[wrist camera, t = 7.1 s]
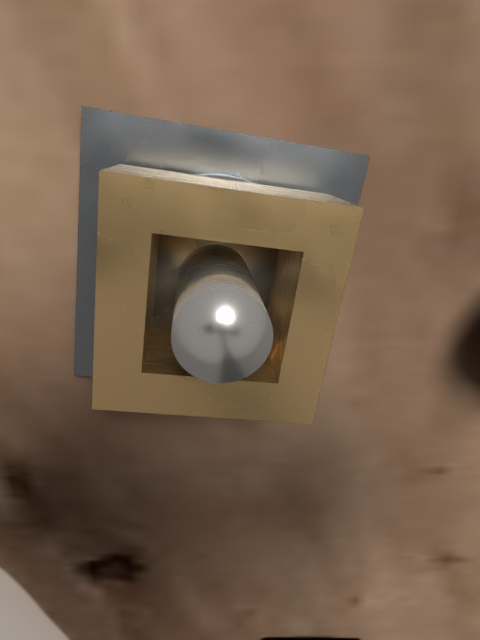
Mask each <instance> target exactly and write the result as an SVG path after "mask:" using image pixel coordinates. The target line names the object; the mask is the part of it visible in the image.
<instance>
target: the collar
mask: <svg viewBox="0 0 480 640" xmlns="http://www.w3.org/2000/svg"><path fill="white" fill-rule="evenodd" d="M363 209H364V208H363V207H360V206H357V205H355V204H352V203H350V202H347V201H345V200H342V199H340V198H337V197H334V196H332V195H329V194H324V193H317V192H310V191H304V190H297V189H290V188H283V187H276V186H269V185H262V184H255V183H248V182H241V181H234V180H227V179H220V178H213V177H207V176H200V175H193V174H186V173H179V172H172V171H165V170H158V169H151V168H144V167H137V166H130V165H123V164H119V165H116V166H112V167H109V168H106V169H102V170H99V190H98V223H97V256H96V289H95V323H94V356H93V389H92V409H96V410H111V411H125V412H140V413H154V414H169V415H183V416H198V417H212V418H227V419H241V420H256V421H270V422H285V423H299V424H312V423H313V419H314V415H315V411H316V407H317V402H318V398H319V394H320V390H321V386H322V381H323V377H324V373H325V369H326V365H327V360H328V356H329V352H330V348H331V344H332V339H333V335H334V331H335V327H336V323H337V318H338V314H339V310H340V306H341V302H342V297H343V293H344V289H345V285H346V280H347V276H348V272H349V268H350V264H351V259H352V255H353V251H354V247H355V243H356V238H357V234H358V230H359V226H360V222H361V217H362V213H363ZM159 234H163V235H171V236H179V237H187V238H195V239H203V240H211V241H219V242H227V243H235V244H243V245H251V246H259V247H267V248H275V249H278V252H277V258H276V264H275V269H274V275H273V281H272V286H271V292H270V298H269V303H268V309H267V313H268V315H269V318H270V320H271V323H272V327H273V343H272V347H271V350H270V353H269V355H268V357H267V358H266V360H265V362H264V363H263V364H262V365H261V366H260V367H259V368H258V369H257V370H256V371H255V372H254V373H252V374H251V375H249V376H247V377H245V378H243V379H241V380H238V381H235V382H230V383H212V382H207V381H203V380H201V379H198V378H196V377H194V376H193V375H191V374H190V373H188V372H187V371H186V370H185V369H184V368H183V367H182V366H181V365H180V363H179V362H178V360H177V359H176V357H175V355H174V352H173V349H172V345H171V330H172V329H161V328H152V318H153V305H154V293H155V280H156V268H157V255H158V243H159Z"/></svg>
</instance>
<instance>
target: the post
mask: <svg viewBox="0 0 480 640" xmlns="http://www.w3.org/2000/svg"><path fill="white" fill-rule="evenodd" d="M369 158H370V156H367V155H362V154H356V153H350V152H344V151H338V150H333V149H327V148H321V147H315V146H310V145H304V144H298V143H292V142H286V141H281V140H275V139H269V138H263V137H257V136H252V135H246V134H240V133H234V132H229V131H223V130H217V129H211V128H205V127H200V126H194V125H188V124H182V123H176V122H171V121H165V120H159V119H153V118H148V117H142V116H136V115H130V114H124V113H119V112H113V111H107V110H101V109H95V108H90V107H84V106H82V116H81V152H80V188H79V224H78V260H77V296H76V332H75V368H74V375H75V376H86V377H93V356H94V323H95V289H96V256H97V223H98V190H99V170H102V169H106V168H109V167H112V166H116V165H119V164H123V165H130V166H137V167H144V168H151V169H158V170H165V171H172V172H179V173H186V174H193V175H200V176H207V177H213V178H220V179H227V180H234V181H241V182H248V183H255V184H262V185H269V186H276V187H283V188H290V189H297V190H304V191H310V192H317V193H324V194H329V195H332V196H334V197H337V198H340V199H342V200H345V201H347V202H350V203H352V204H355V205H357V206H358V203H359V199H360V195H361V191H362V187H363V183H364V179H365V175H366V171H367V167H368V163H369ZM277 252H278V249H275V248H267V247H259V246H251V245H243V244H235V243H227V242H219V241H211V240H203V239H195V238H187V237H179V236H171V235H163V234H159V243H158V255H157V268H156V280H155V293H154V305H153V318H152V328H161V329H172V330H171V345H172V349H173V352H174V355H175V357H176V359H177V360H178V362H179V363H180V365H181V366H182V367H183V368H184V369H185V370H186V371H187V372H188V373H190V374H191V375H193V376H194V377H196V378H198V379H201V380H203V381H207V382H212V383H230V382H235V381H238V380H241V379H243V378H245V377H247V376H249V375H251V374H252V373H254V372H255V371H256V370H257V369H258V368H259V367H260V366H261V365H262V364H263V363H264V362H265V360H266V358H267V357H268V355H269V353H270V350H271V347H272V343H273V327H272V323H271V320H270V318H269V315H268V313H267V309H268V303H269V298H270V292H271V286H272V281H273V275H274V269H275V264H276V258H277Z"/></svg>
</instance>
